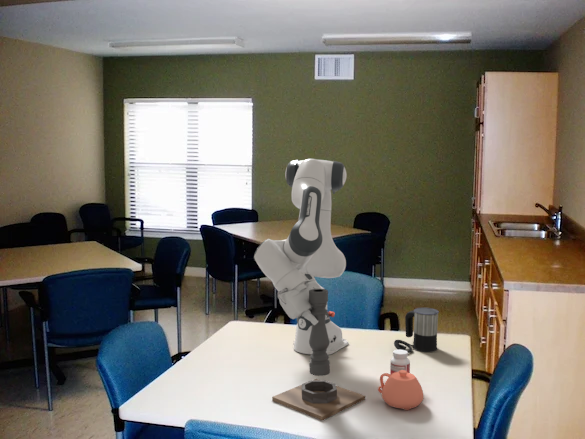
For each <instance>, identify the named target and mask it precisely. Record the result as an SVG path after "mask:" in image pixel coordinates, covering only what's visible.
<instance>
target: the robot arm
mask: <svg viewBox="0 0 585 439" xmlns="http://www.w3.org/2000/svg"><path fill="white" fill-rule="evenodd" d="M284 174H285V181H286V184H287V185H288V187H290V188H291V202H292V204H293V206H295V208H297V209H299V215H298V219H297V220H298V221H297V222H296V223H295V224H294V225H293V227H292V228H291V230H290V232H289V233H288V234H289V235H288V236H287V238H286V239H282V240H275V239H270V238H266V239H265V240H264V241H263V242H261V243H260V244H259V245H258V247H257V248H256V250H255V252H254V255H253V259H254V261H255V262H256V264H257V265H258V268H259V269H260V270H261V272H262V273H263V274H264V275H265V277H266V278H268V279H269V280H270V281H271V283H272V284H273V287H274V288H275V289H276V291H277V298H278V299H279V304H280V306H281V307H282V309H283V311H284V312H285V313H286V315H287V316H288V318H290V319H292V320H295V319H296V328H295V337H294V340H293V350H294V351H295V352H297V353H300V354H303V355H312V353H313V351H312V348H311V347H310V344H309V339H310V334H311V330H312V325H316V324H317V323H318V322H319V319H318V318H317V317H314V316H313V315H312V314H311V312H310V310H311V309H312V306H311V305H310V302H309V290H311V289H325V287H323V286H321V285H320V284H319V283H318V282H317V280H316V278H324V279H333V278H340V277H341V276H342V275H343V274H344V272H345V270H346V267H347V260H346V257H345V255H344V253H343V252H342V251H341V250H340V249H339V248H338V247H337V246H336V244H335V242H334V240H333V236H332V230H331V227H332V225H331V221H332V220H331V219H332V194H333V195H334V194H336V192H338V191H340V190H341V189H343V188H344V185H345V183H346V181H347V176H348V175H347V174H348V173H347V170H346V166H345V165H344V163H343V162H340V161H337V160H326V159H316V158H307V159H302V160H300V159H295V160H291V161H289V162H288V163H287V166H286V169H285V172H284ZM325 309H326V310H327V313H326V315H325V325H326V329H327V334H328V338H329V346H328V348H327V351H326V353H327V355H333V354H334V353H336V352H337V351H340V350H341V349H343V348H344V347H346V346H348V345H349V340H347V339H345V338H343V332H342V329H341V327H340V326H338V325H337V324H336V323H334V322H333V321H332V320H331V318H334V317H335V314H336V313H335V311H331V310H329V311H328V304H327V305H326V307H325Z"/></svg>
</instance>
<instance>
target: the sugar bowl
mask: <svg viewBox="0 0 585 439" xmlns="http://www.w3.org/2000/svg"><path fill="white" fill-rule="evenodd" d="M384 377H388V378H387V379H386V380H385V383H384V379H383V378H384ZM379 384H380V385H379V386H378V387H377V391H378V393H380V394H381V397H382V399H383V401H384V402H385V403H386V404H387V405H388V406H389V407H394V408H396V409H402V410H405V411H409V410H410V409H414V408H417V407H418V406H419V405H420V404H421V403H422V402H423V400H424V390H423V387H422V386H421V383H420V381H419V379H418V378H417V377H416V376H415V375H414V374H413V373H407V371H405V370H400V371H399V372H395V373H393V374H391V375H390V373H387V372H384V373H381V375H380V377H379Z"/></svg>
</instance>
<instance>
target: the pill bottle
mask: <svg viewBox="0 0 585 439" xmlns="http://www.w3.org/2000/svg"><path fill="white" fill-rule="evenodd" d="M408 355H409V353H408V352H407V351H406V350H401V349H394V350H393V351H392V357H391V359H390V364H389V365H390V367H389V369H390V370H389V371H390V372H389V374H390V375H391V374H393V373H395V372H399V371H400V370H405V371H407V373H410V372H411V370H410V369H411V360H410V359H409V358H408Z"/></svg>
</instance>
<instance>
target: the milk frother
mask: <svg viewBox="0 0 585 439" xmlns="http://www.w3.org/2000/svg"><path fill="white" fill-rule="evenodd" d="M439 312H440V311H439V310H438V309H435V308H431V307H417V308H414V310H410V311H408V312H407V313H406V314H405V315H404V316H405V318H404V319H405V320H404V322H405V337H406V338H411V337H413V341H412V344H410V343H408V342H407V341H405V340H403V339H395V340H394V341H393V345H394V347H395V349H396V350H398V349H401V350H406V351H407V352H408V354H409V353H411V352H413V350H416V351H417V352H423V353H432V352H436V351H438V324H439V321H438V320H439ZM407 348H408V349H407Z"/></svg>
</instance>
